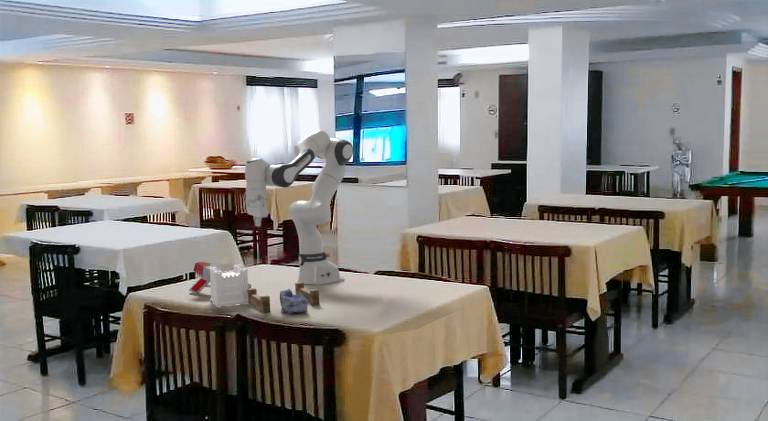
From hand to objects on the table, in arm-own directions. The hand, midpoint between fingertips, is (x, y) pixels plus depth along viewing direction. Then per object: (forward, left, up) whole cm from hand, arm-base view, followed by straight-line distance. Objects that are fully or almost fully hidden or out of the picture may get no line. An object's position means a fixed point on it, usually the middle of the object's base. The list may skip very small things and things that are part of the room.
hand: (257, 226), depth 347 cm
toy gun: (+16, -13, -32) cm, 38 cm away
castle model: (+16, +6, -31) cm, 36 cm away
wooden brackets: (-2, +24, -31) cm, 39 cm away
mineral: (-1, +40, -32) cm, 51 cm away
